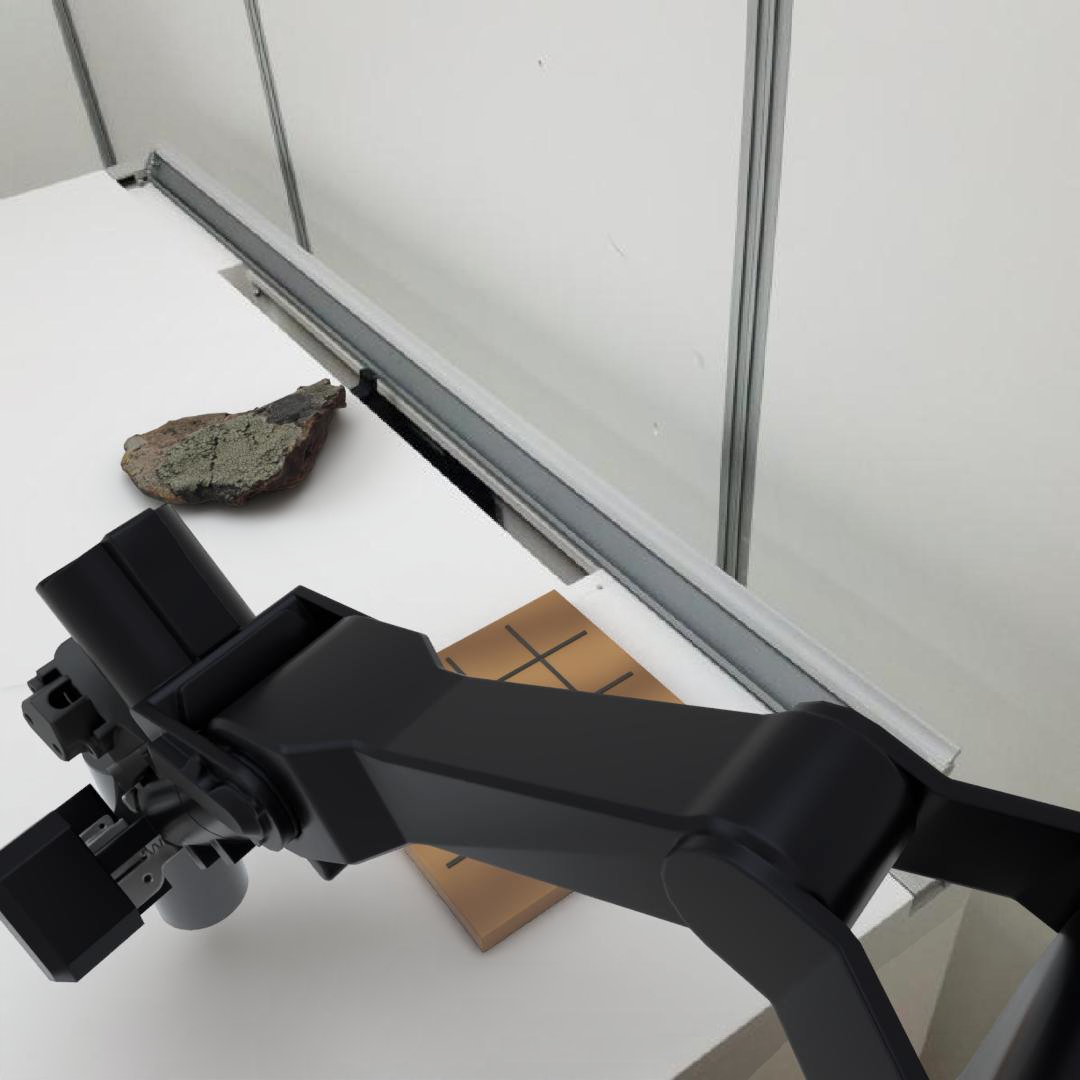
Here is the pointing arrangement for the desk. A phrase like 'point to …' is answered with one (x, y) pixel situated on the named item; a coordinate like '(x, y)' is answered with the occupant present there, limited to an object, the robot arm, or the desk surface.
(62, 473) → the desk surface
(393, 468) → the desk surface
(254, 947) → the desk surface
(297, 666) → the robot arm
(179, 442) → the rock
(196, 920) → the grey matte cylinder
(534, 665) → the board
